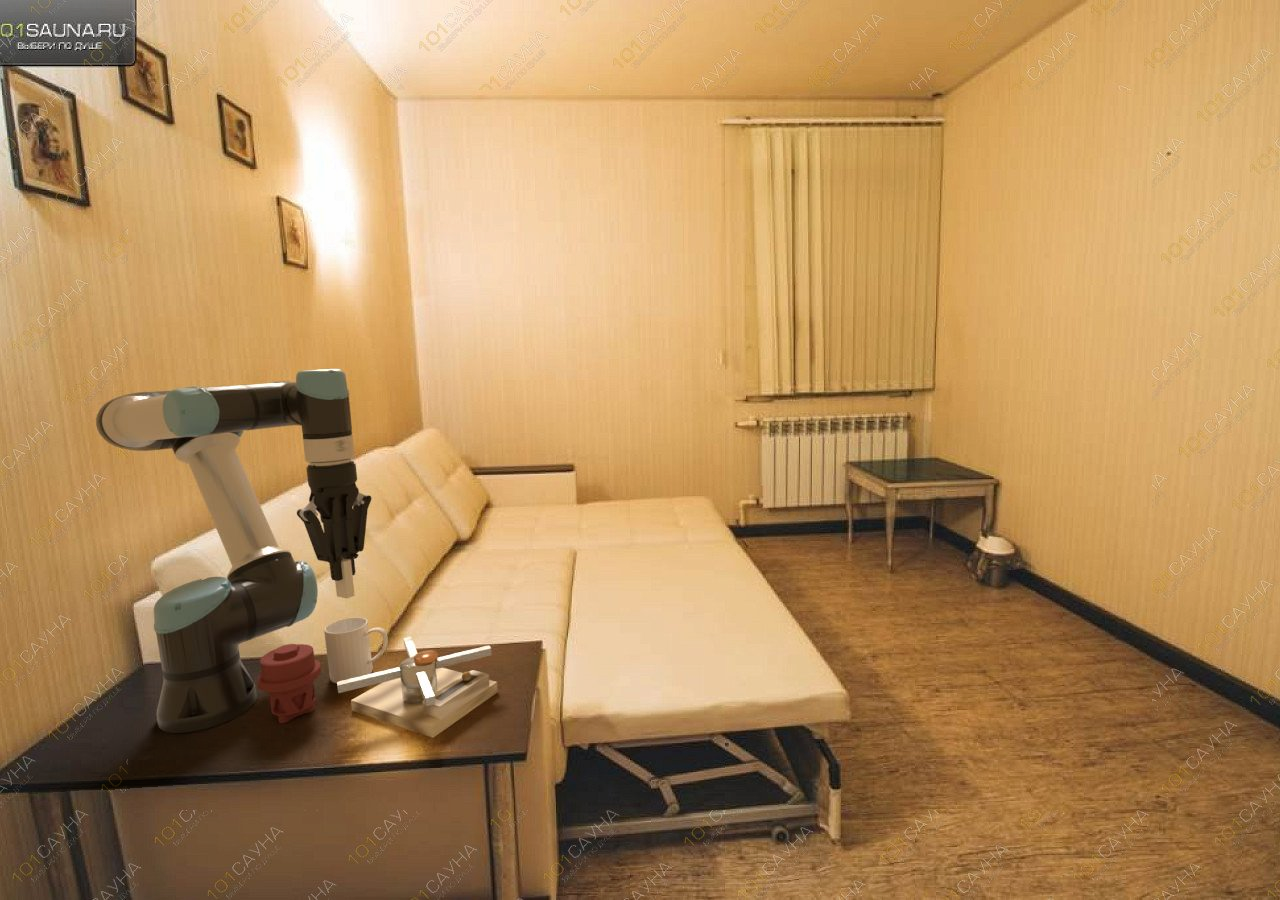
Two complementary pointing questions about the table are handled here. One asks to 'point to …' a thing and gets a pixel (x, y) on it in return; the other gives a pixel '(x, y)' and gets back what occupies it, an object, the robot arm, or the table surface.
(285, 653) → the mechanical component
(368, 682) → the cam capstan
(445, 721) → the stand
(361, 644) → the mug
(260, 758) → the table surface
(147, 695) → the table surface
